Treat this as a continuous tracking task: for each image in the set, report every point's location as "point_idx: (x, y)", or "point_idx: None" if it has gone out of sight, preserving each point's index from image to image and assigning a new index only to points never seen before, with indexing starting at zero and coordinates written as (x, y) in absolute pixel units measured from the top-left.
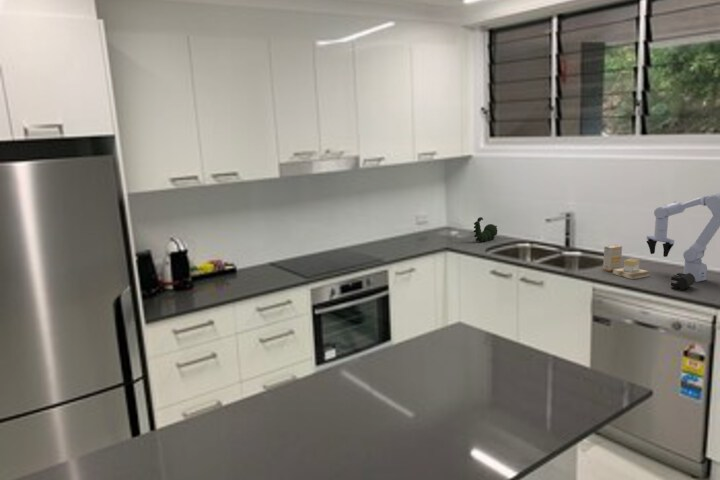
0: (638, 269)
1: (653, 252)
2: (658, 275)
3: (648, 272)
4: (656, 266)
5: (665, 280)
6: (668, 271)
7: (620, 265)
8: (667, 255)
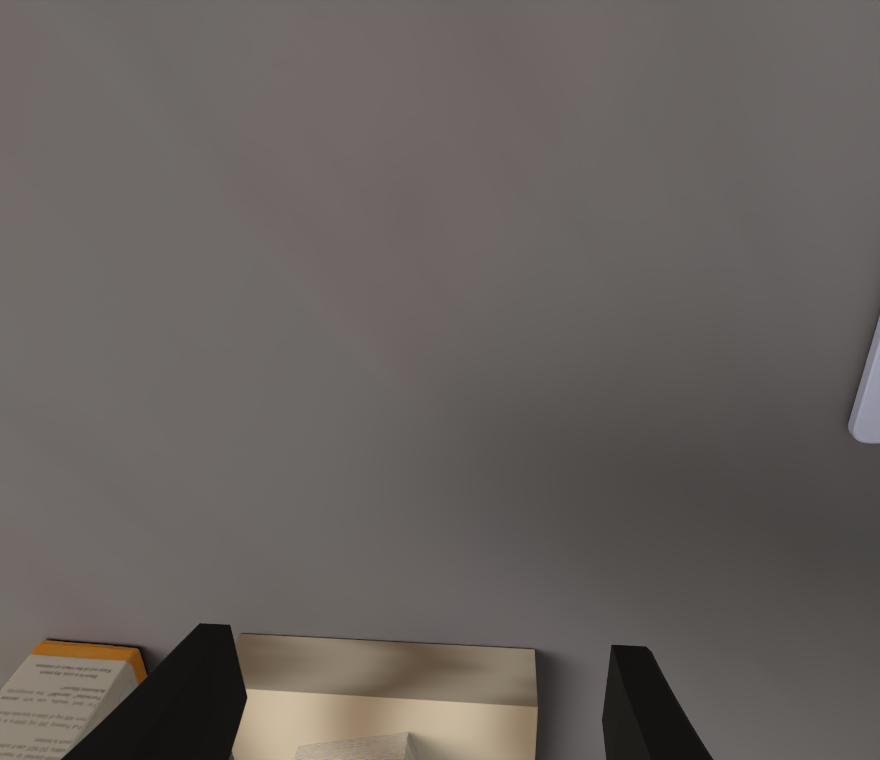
0: (412, 749)
1: (219, 679)
2: (575, 541)
3: (535, 706)
4: (112, 71)
5: (781, 660)
6: (494, 217)
7: (114, 701)
8: (660, 678)
